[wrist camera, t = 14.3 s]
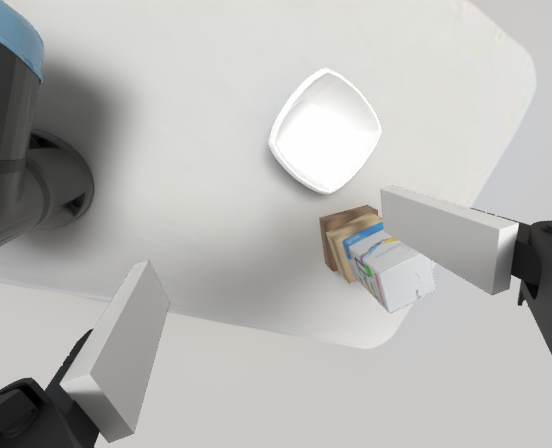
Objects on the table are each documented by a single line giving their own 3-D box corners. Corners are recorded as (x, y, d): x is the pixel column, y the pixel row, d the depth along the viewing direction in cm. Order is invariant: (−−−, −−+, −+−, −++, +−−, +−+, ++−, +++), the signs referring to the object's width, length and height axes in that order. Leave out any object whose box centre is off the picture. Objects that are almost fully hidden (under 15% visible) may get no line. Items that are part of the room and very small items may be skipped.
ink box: (340, 240, 46) (378, 272, 35) (382, 220, 47) (431, 247, 36) (352, 276, 49) (390, 316, 39) (390, 257, 50) (438, 291, 39)
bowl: (308, 193, 51) (331, 208, 41) (246, 142, 45) (255, 145, 35) (358, 129, 49) (396, 128, 38) (300, 68, 43) (327, 48, 33)
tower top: (339, 272, 54) (349, 283, 50) (325, 232, 50) (335, 241, 46) (380, 252, 55) (393, 261, 50) (370, 211, 51) (384, 218, 47)
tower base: (324, 261, 58) (332, 271, 54) (318, 217, 54) (326, 224, 49) (368, 248, 59) (379, 257, 55) (365, 204, 55) (377, 210, 51)
